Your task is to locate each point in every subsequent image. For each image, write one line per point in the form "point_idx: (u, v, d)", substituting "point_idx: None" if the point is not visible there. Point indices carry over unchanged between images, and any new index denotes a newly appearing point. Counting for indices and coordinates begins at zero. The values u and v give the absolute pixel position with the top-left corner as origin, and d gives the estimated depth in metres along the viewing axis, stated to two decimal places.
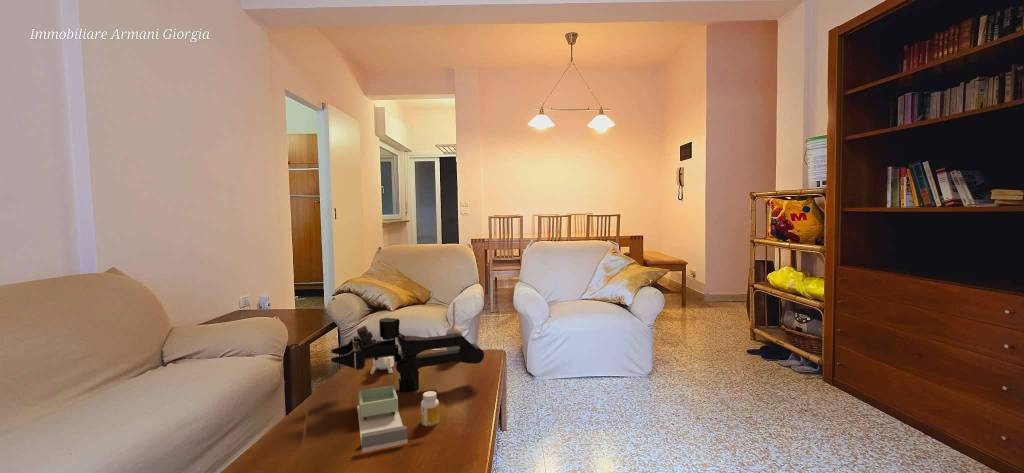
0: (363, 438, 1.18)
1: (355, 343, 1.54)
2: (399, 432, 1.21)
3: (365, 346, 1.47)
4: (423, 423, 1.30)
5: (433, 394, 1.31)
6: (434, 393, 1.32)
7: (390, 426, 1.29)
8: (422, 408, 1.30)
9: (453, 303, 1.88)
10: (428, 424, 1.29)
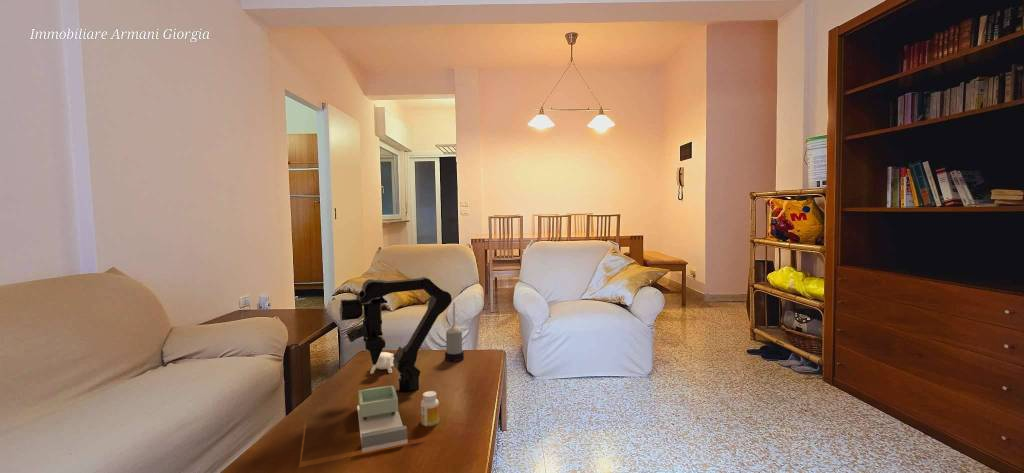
0: (363, 438, 1.18)
1: None
2: (399, 432, 1.21)
3: (365, 334, 1.45)
4: (423, 423, 1.30)
5: (433, 394, 1.31)
6: (434, 393, 1.32)
7: (390, 426, 1.29)
8: (422, 408, 1.30)
9: (453, 303, 1.88)
10: (428, 424, 1.29)
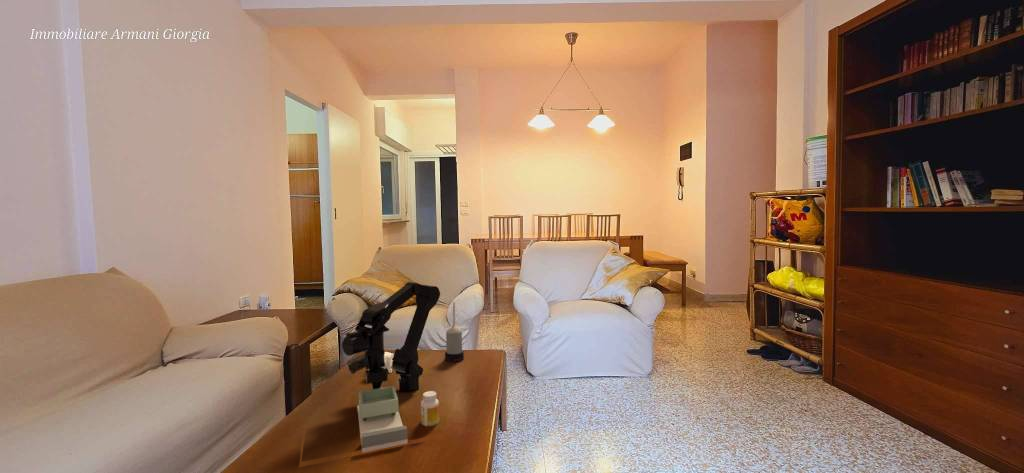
0: (363, 438, 1.18)
1: (370, 369, 1.44)
2: (399, 432, 1.21)
3: (367, 365, 1.40)
4: (423, 423, 1.30)
5: (433, 394, 1.31)
6: (434, 393, 1.32)
7: (390, 426, 1.29)
8: (422, 408, 1.30)
9: (453, 303, 1.88)
10: (428, 424, 1.29)
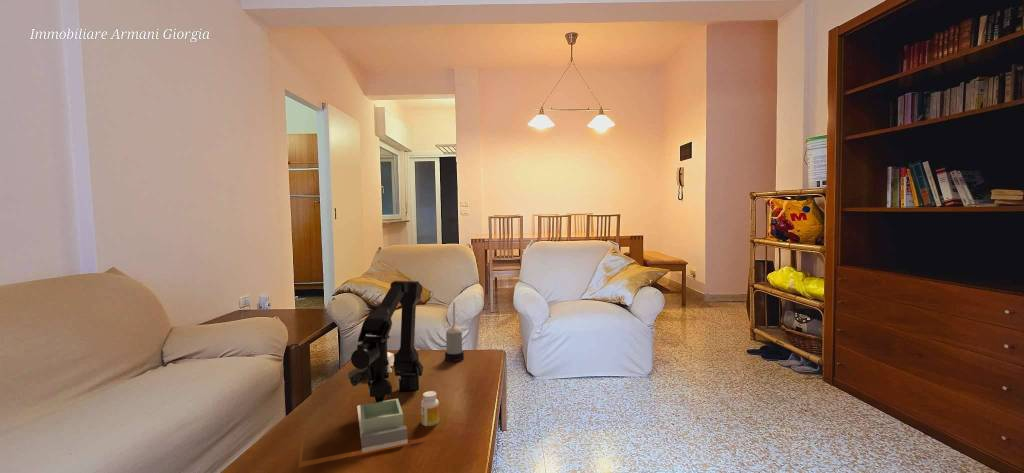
0: (363, 438, 1.18)
1: None
2: (399, 432, 1.21)
3: (370, 377, 1.30)
4: (423, 423, 1.30)
5: (433, 394, 1.31)
6: (434, 393, 1.32)
7: None
8: (422, 408, 1.30)
9: (453, 303, 1.88)
10: (428, 424, 1.29)
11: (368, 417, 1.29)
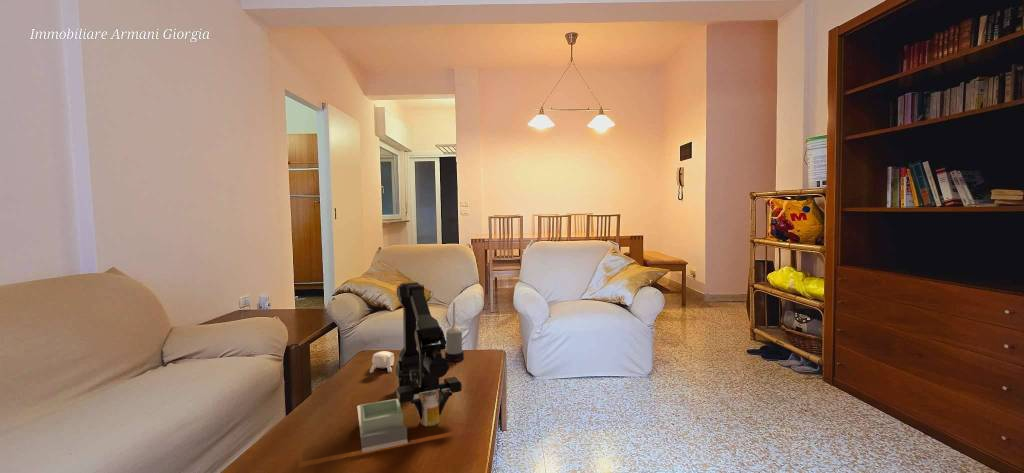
0: (363, 438, 1.18)
1: None
2: (399, 432, 1.21)
3: (417, 380, 1.32)
4: (423, 423, 1.30)
5: (433, 394, 1.31)
6: (434, 393, 1.32)
7: None
8: (422, 408, 1.30)
9: (453, 303, 1.88)
10: (428, 424, 1.29)
11: (368, 417, 1.29)
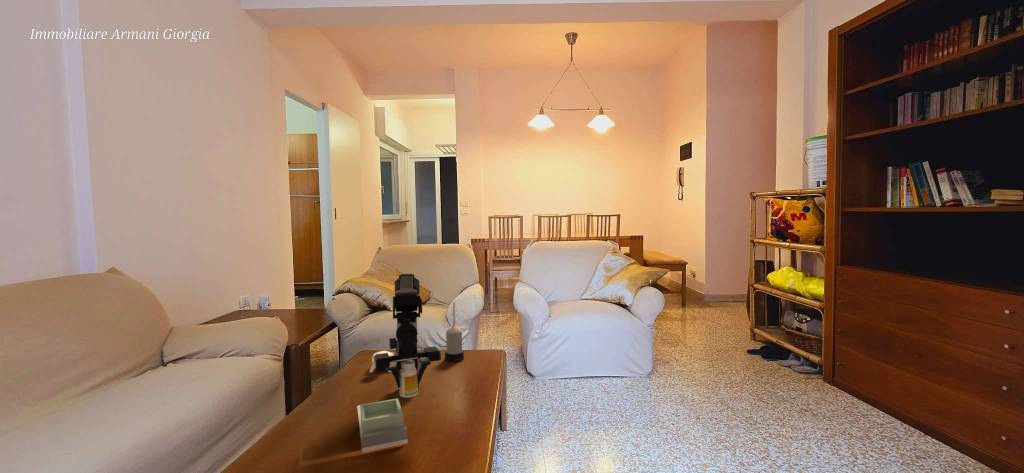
0: (363, 438, 1.18)
1: None
2: (399, 432, 1.21)
3: (396, 349, 1.30)
4: (401, 391, 1.27)
5: (411, 362, 1.28)
6: (412, 362, 1.29)
7: None
8: (400, 376, 1.27)
9: (453, 303, 1.88)
10: (405, 392, 1.27)
11: (368, 417, 1.29)
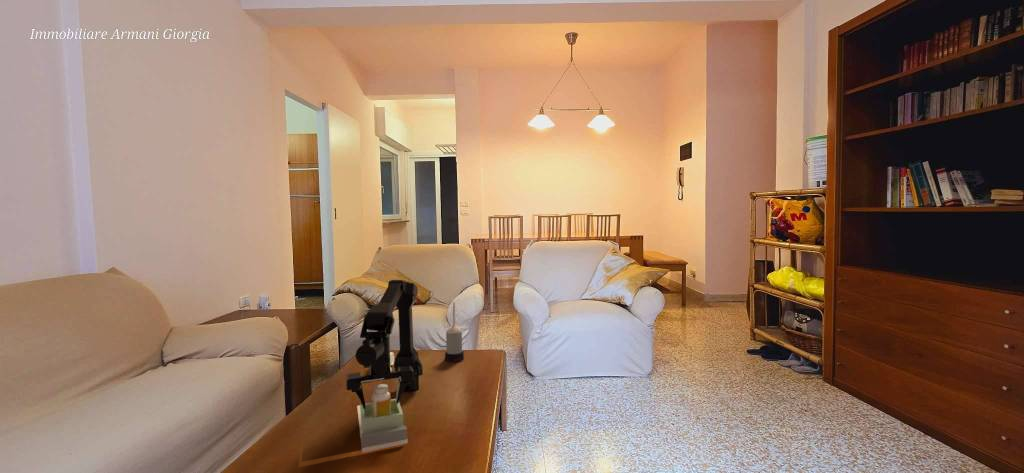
0: (363, 438, 1.18)
1: None
2: (399, 432, 1.21)
3: (369, 368, 1.28)
4: (373, 416, 1.26)
5: (384, 387, 1.27)
6: (385, 386, 1.28)
7: None
8: (372, 401, 1.26)
9: (453, 303, 1.88)
10: None
11: (368, 417, 1.29)
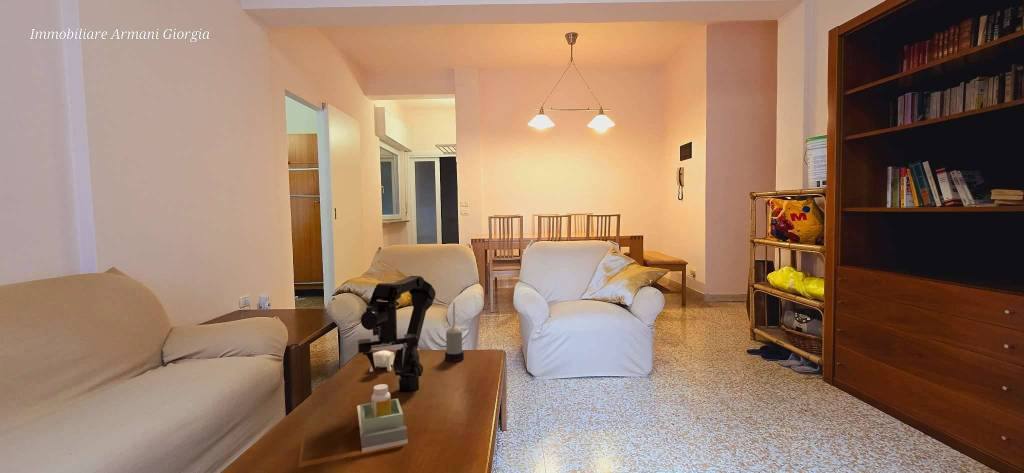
0: (363, 438, 1.18)
1: None
2: (399, 432, 1.21)
3: (378, 335, 1.44)
4: (373, 417, 1.26)
5: (384, 387, 1.27)
6: (385, 386, 1.27)
7: None
8: (372, 401, 1.26)
9: (453, 303, 1.88)
10: None
11: (368, 417, 1.29)
